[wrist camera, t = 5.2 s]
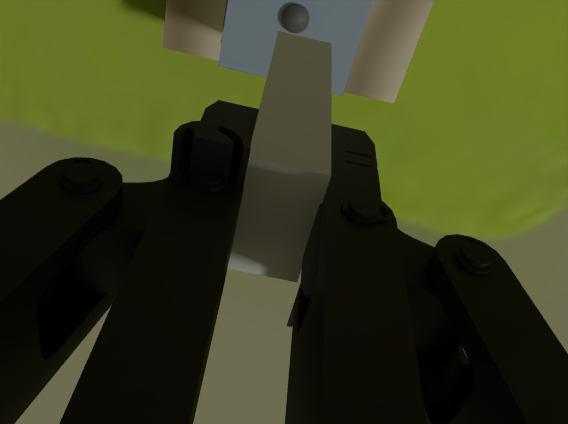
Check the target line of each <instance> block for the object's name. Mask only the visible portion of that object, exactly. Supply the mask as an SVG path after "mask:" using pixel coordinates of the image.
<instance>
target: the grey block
mask: <svg viewBox="0 0 568 424" xmlns="http://www.w3.org/2000/svg"><path fill="white" fill-rule="evenodd" d="M372 2H373V0H228V4H227V11H226V17H225V24H224V30H223V36H222V43H221V49H220V56H219V62H218V66H221V67H225V68H229V69H233V70H237V71H241V72H245V73H250V74H254V75H258V76H262V77H266V78H267V75H268V71H269V67H270V63H271V59H272V55H273V51H274V47H275V42H276V38H277V34H278V31H281V32H285V33H289V34H293V35H298V36H302V37H306V38H310V39H315V40H319V41H323V42H327V43H332V78H331V93H332V94H336V95H340V96H342V95H343V92H344V89H345V86H346V83H347V80H348V76H349V73H350V70H351V67H352V64H353V61H354V58H355V55H356V52H357V48H358V45H359V42H360V39H361V36H362V33H363V30H364V27H365V23H366V20H367V17H368V14H369V11H370V8H371V5H372Z"/></svg>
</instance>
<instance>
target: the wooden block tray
mask: <svg viewBox="0 0 568 424" xmlns="http://www.w3.org/2000/svg"><path fill="white" fill-rule="evenodd" d="M433 2H434V0H373V2H372V5H371V8H370V11H369V14H368V17H367V20H366V23H365V27H364V30H363V33H362V36H361V39H360V42H359V45H358V48H357V52H356V55H355V58H354V61H353V64H352V67H351V70H350V73H349V76H348V80H347V83H346V86H345V89H344V92H348V93H352V94H356V95H360V96H364V97H368V98H372V99H377V100H381V101H385V102H389V103H393V104H394V102H395V99H396V97H397V94H398V92H399V89H400V86H401V84H402V81H403V79H404V76H405V74H406V71H407V69H408V66H409V63H410V61H411V58H412V56H413V53H414V51H415V48H416V46H417V43H418V40H419V38H420V35H421V33H422V30H423V28H424V25H425V23H426V20H427V17H428V15H429V12H430V10H431V7H432V5H433ZM227 4H228V0H166V12H165V24H164V36H163V47H164V48H168V49H172V50H176V51H180V52H184V53H188V54H192V55H196V56H200V57H205V58H209V59H213V60H217V61H219V56H220V49H221V43H222V36H223V30H224V24H225V17H226V11H227Z"/></svg>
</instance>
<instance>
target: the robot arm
mask: <svg viewBox="0 0 568 424" xmlns="http://www.w3.org/2000/svg"><path fill="white" fill-rule="evenodd" d="M331 78H332V43H327V42H323V41H319V40H315V39H310V38H306V37H302V36H298V35H293V34H289V33H285V32H281V31H278V34H277V38H276V42H275V47H274V51H273V55H272V59H271V63H270V67H269V71H268V75H267V79H266V83H265V88H264V92H263V96H262V100H261V104H260V108H259V109H256V108H251V107H247V106H242V105H238V104H233V103H229V102H224V101H220V100H218V101H217V102H215V103H214V104H212V105H210V106H209V107H207V108H206V109H205V111H204V114H203V116H202V118H201V121H192V122H189V123H186V124H183V125H181V126H180V127H179V128H178V129H177V130H176V131H175V132H174V138H173V149H172V160H171V172H170V174H169V176H168V178H165V179H163V180H159V181H154V182H143V183H123V181H122V175H121V173H120V172H119V171H118V170H117V168H115V167H114V166H112V165H110V164H109V163H107V162H105V161H102V160H97V159H93V158H82V157H80V158H78V157H74V158H69V159H64V160H59V161H57V162H55V163H53V164H51V165H49V166H47V167H45V168H44V169H42V170H41V171H40V172H38V173H37V174H36V175H34V176H33V177H31V178H30V179H29V180H27V181H26V182H25V183H23V184H22V185H20V186H19V187H18V188H16V189H15V190H13V191H12V192H11V193H9V194H8V195H6V196H5V197H4V198H2V199H1V200H0V424H14V423H15V422H16V421H17V420H18V418H19V417H20V416H21V415H22V414H23V413H24V411H25V410H26V409H27V408H28V406H29V405H30V404H31V403H32V402H33V400H34V399H35V398H36V396H37V395H38V394H39V393H40V392H41V391H42V389H43V388H44V387H45V386H46V384H47V383H48V382H49V381H50V380H51V378H52V377H53V376H54V375H55V373H56V372H57V371H58V370H59V368H60V367H61V366H62V365H63V364H64V362H65V361H66V360H67V359H68V358H69V356H70V355H71V354H72V353H73V351H74V350H75V349H76V348H77V346H78V345H79V344H80V343H81V341H83V339H84V338H85V337H86V336H87V334H88V333H89V332H90V331H91V329H92V328H93V327H94V326H95V325H96V323H97V322H98V321H99V320H100V318H101V317H102V316H103V315H104V314H105V312H106V311H107V310H108V309H109V308H110V306H111V305H112V306H111V308H110V311H109V313H108V315H107V317H106V319H105V322H104V324H103V326H102V329H101V331H100V333H99V335H98V338H97V340H96V342H95V345H94V347H93V349H92V352H91V353H90V356H89V358H88V360H87V363H86V365H85V367H84V369H83V372H82V374H81V376H80V378H79V381H78V383H77V385H76V387H75V390H74V392H73V394H72V397H71V399H70V401H69V403H68V406H67V408H66V410H65V412H64V415H63V417H62V419H61V421H60V424H193V421H194V417H195V412H196V408H197V403H198V399H199V394H200V390H201V385H202V381H203V376H204V372H205V368H206V363H207V359H208V354H209V350H210V345H211V341H212V336H213V332H214V327H215V323H216V319H217V314H218V309H219V305H220V301H221V296H222V292H223V287H224V282H225V276H226V272H227V268H229V269H234V270H239V271H244V272H249V273H254V274H259V275H264V276H269V277H274V278H279V279H284V280H289V281H294V282H297V281H298V278H299V275H300V271H301V268H302V272H301V284H300V287H299V290H298V293H297V296H296V299H295V302H294V305H293V308H292V311H291V315H290V317H289V320H288V324H287V326H290V327H292V326H293V329H292V343H291V354H290V355H291V356H290V368H289V379H288V392H287V404H286V417H285V424H568V354H567V352H566V351H565V349H564V348H563V346H562V345H561V343H560V342H559V340H558V339H557V337H556V336H555V334H554V333H553V331H552V330H551V328H550V327H549V325H548V324H547V322H546V321H545V320H544V318H543V316H542V315H541V314H540V312H539V310H538V309H537V307H536V306H535V305H534V303H533V302H532V300H531V299H530V297H529V296H528V294H527V293H526V291H525V290H524V288H523V287H522V286H521V284H520V282H519V281H518V279H517V278H516V276H515V275H514V273H513V272H512V270H511V269H510V267H509V266H508V264H507V263H506V261H505V260H504V259H503V258H502V257H501V256H500V255H499V254H498V252H497V251H495V250H494V249H493V248H491V247H490V246H488V245H487V244H485V243H484V242H482V241H480V240H477V239H475V238H472V237H469V236H464V235H458V234H456V235H446V236H445V237H443V238H441V239H440V240H439V241H438V243H437V244H436V246H435V247H433V246H430V245H428V244H426V243H423V242H421V241H419V240H417V239H414V238H412V237H410V236H408V235H407V234H405V233H403V232H402V231H400V230H399V229H398V228H397V222H396V218H395V216H394V213H393V211H392V210H391V209H390V208H389V207H388V206H387V205H386V204H385V203H384V202H383V201H382V199H381V191H380V183H379V175H378V170H377V159H376V152H375V144H374V143H373V142H372V140H371V139H370V138H369V136H368V135H367V134H366V132H365V131H361V130H356V129H352V128H348V127H343V126H339V125H334V124H331ZM462 348H463V349H464V351H465V353H466V355H467V357H468V358H467V357H466V355H465V353H464V351H463V349H462Z"/></svg>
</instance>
